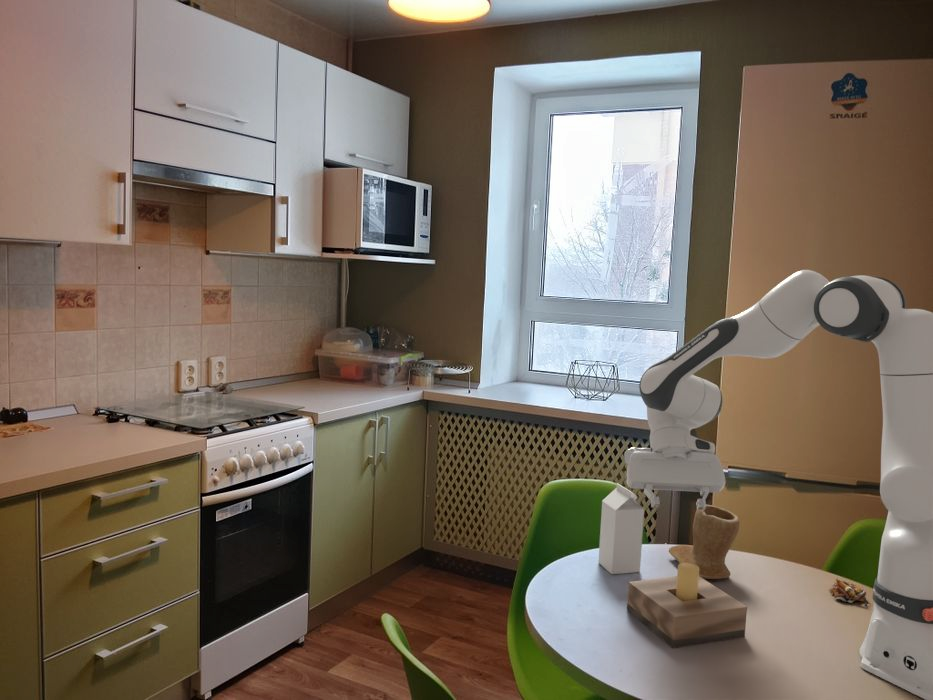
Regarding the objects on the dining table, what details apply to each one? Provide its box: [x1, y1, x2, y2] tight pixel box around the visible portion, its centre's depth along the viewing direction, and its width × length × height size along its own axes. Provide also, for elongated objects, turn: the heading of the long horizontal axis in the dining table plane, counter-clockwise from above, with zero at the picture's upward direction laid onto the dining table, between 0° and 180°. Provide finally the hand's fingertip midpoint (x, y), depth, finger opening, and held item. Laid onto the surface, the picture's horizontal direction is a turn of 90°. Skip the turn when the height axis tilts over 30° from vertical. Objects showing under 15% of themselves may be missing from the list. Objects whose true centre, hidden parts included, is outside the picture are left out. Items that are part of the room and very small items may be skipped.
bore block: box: [626, 575, 748, 649], centre depth 155 cm, size 16×16×6 cm
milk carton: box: [598, 482, 645, 575], centre depth 181 cm, size 7×7×19 cm
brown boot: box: [668, 504, 740, 580], centre depth 182 cm, size 15×12×15 cm
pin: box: [676, 563, 699, 601], centre depth 155 cm, size 4×4×10 cm
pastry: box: [828, 577, 871, 607], centre depth 173 cm, size 7×12×4 cm, turn 169°
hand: (678, 507), depth 163 cm, fingers open, 8 cm apart
